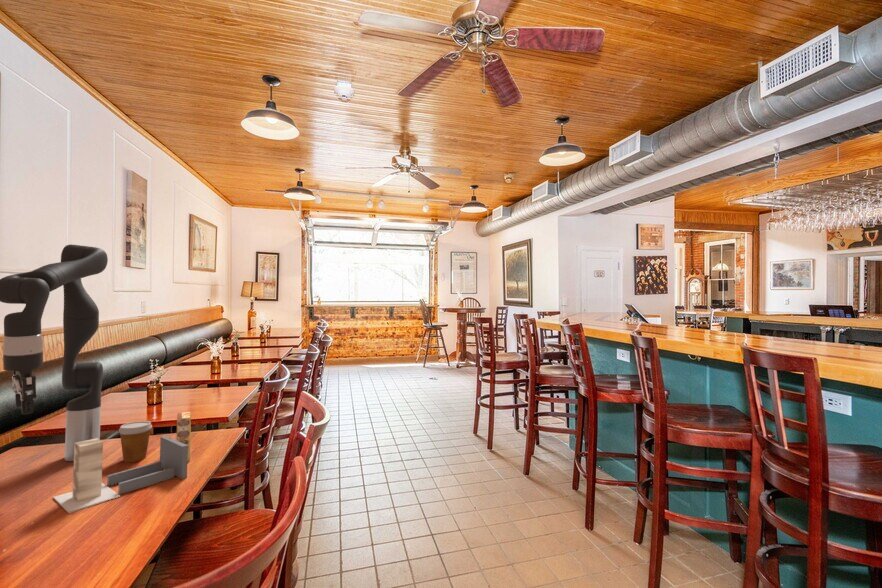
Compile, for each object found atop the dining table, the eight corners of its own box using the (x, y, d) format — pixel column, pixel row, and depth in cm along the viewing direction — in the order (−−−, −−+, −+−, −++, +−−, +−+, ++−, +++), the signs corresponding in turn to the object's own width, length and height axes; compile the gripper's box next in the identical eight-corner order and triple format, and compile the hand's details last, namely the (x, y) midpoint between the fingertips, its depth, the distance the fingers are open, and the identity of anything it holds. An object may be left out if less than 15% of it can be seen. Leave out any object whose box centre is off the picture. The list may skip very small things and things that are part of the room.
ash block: (72, 497, 113) (74, 442, 114) (95, 490, 117) (97, 438, 118) (78, 502, 110) (80, 446, 111) (101, 495, 114) (103, 441, 115)
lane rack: (103, 482, 123) (104, 449, 124) (164, 465, 137) (165, 435, 137) (123, 497, 114) (124, 461, 115) (186, 477, 128) (187, 445, 128)
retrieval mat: (53, 498, 113) (53, 496, 113) (102, 484, 122) (102, 482, 122) (68, 513, 105) (68, 511, 105) (120, 497, 114) (120, 495, 114)
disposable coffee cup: (156, 457, 144) (157, 423, 144) (124, 466, 136) (125, 430, 136) (144, 452, 149) (145, 419, 149) (112, 460, 141) (113, 425, 141)
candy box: (190, 461, 141) (191, 417, 141) (175, 463, 139) (177, 418, 139) (189, 453, 148) (190, 411, 149) (175, 455, 146) (177, 412, 146)
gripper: (48, 353, 108) (49, 412, 110) (36, 345, 117) (37, 400, 118) (8, 357, 102) (9, 420, 103) (-2, 348, 111) (0, 406, 112)
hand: (24, 409), depth 111 cm, fingers open, 8 cm apart
